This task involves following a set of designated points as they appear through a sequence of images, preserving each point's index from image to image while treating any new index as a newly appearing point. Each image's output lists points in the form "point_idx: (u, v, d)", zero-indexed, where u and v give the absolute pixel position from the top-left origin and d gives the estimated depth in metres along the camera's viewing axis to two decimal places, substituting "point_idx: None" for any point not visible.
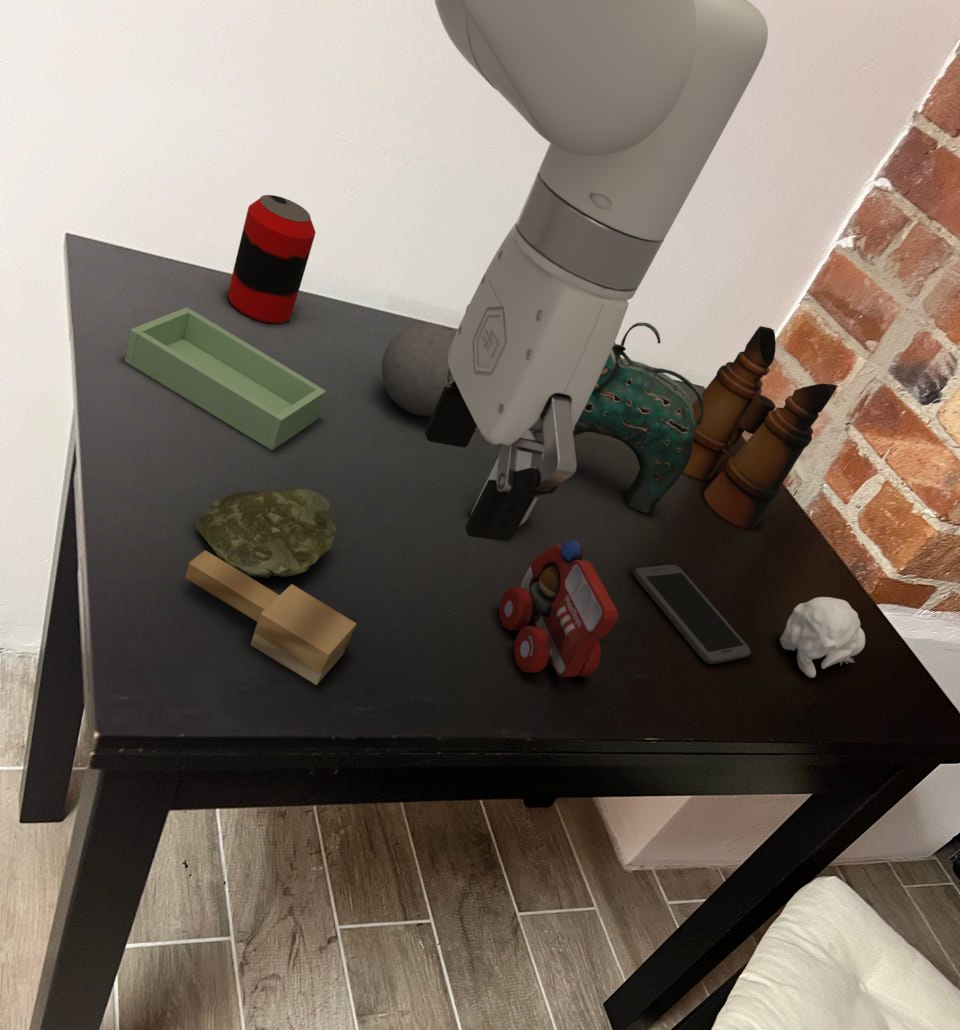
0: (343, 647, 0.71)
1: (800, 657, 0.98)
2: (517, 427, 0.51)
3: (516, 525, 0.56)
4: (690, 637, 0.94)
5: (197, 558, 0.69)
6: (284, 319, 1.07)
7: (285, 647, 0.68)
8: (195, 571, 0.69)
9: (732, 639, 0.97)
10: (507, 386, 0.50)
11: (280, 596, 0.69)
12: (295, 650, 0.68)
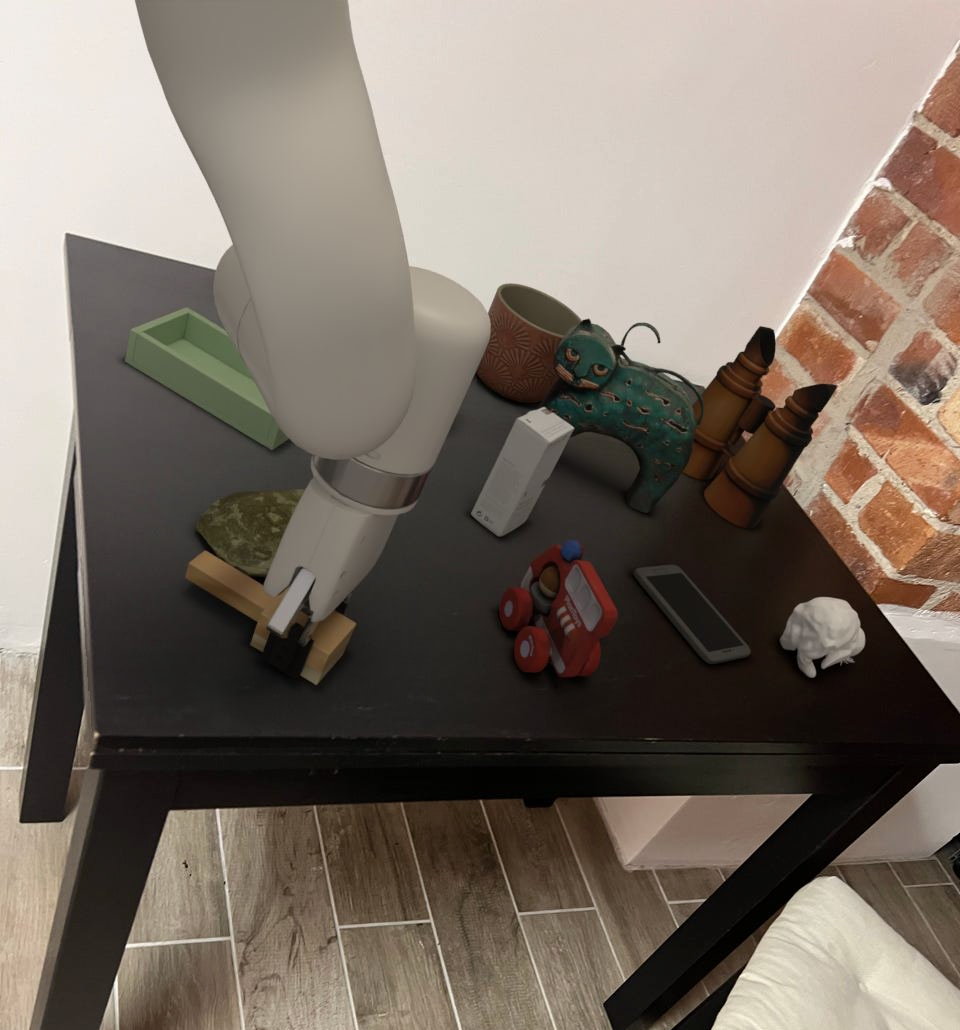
0: (343, 647, 0.71)
1: (800, 657, 0.98)
2: (275, 584, 0.61)
3: (299, 667, 0.68)
4: (690, 637, 0.94)
5: (197, 558, 0.69)
6: None
7: None
8: (195, 571, 0.69)
9: (732, 639, 0.97)
10: None
11: (280, 596, 0.69)
12: None
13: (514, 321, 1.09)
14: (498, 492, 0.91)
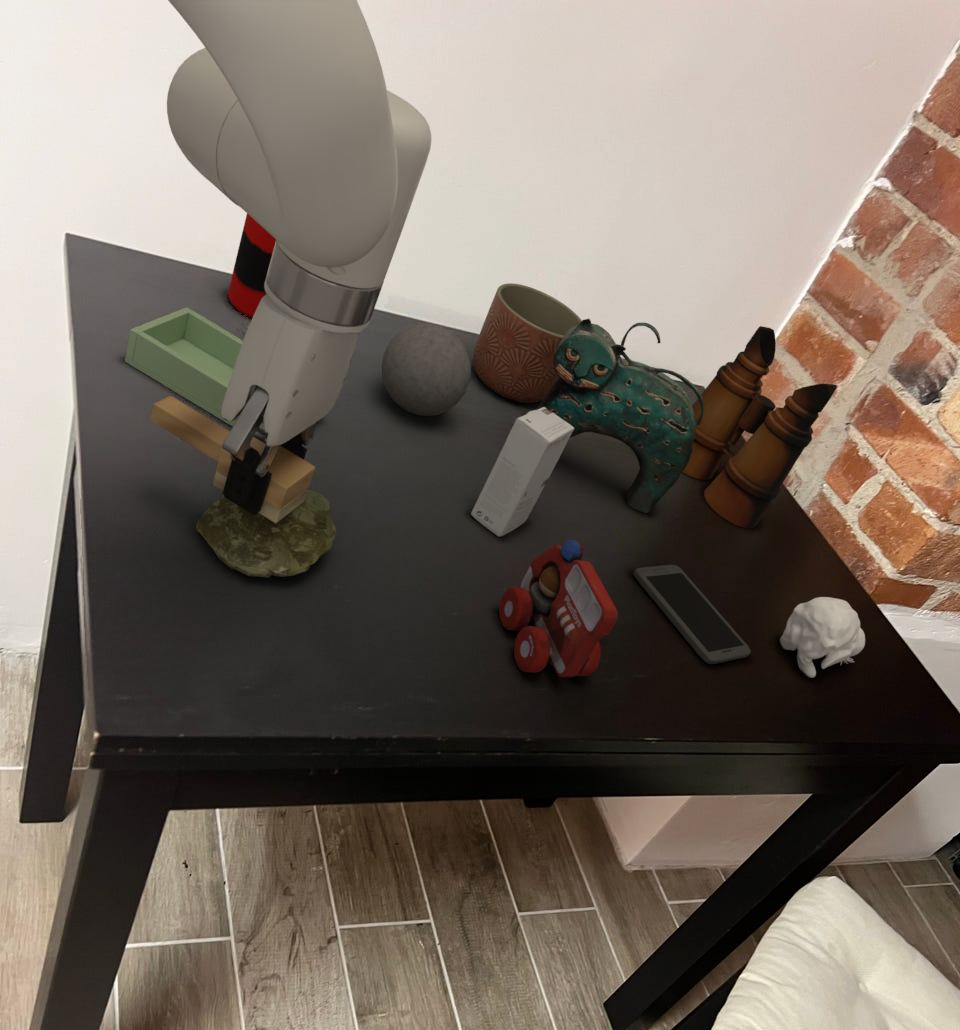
0: (303, 490, 0.74)
1: (800, 657, 0.98)
2: (231, 406, 0.64)
3: (258, 502, 0.71)
4: (690, 637, 0.94)
5: (162, 401, 0.72)
6: None
7: None
8: (160, 413, 0.72)
9: (732, 639, 0.97)
10: None
11: None
12: None
13: (514, 321, 1.09)
14: (498, 492, 0.91)
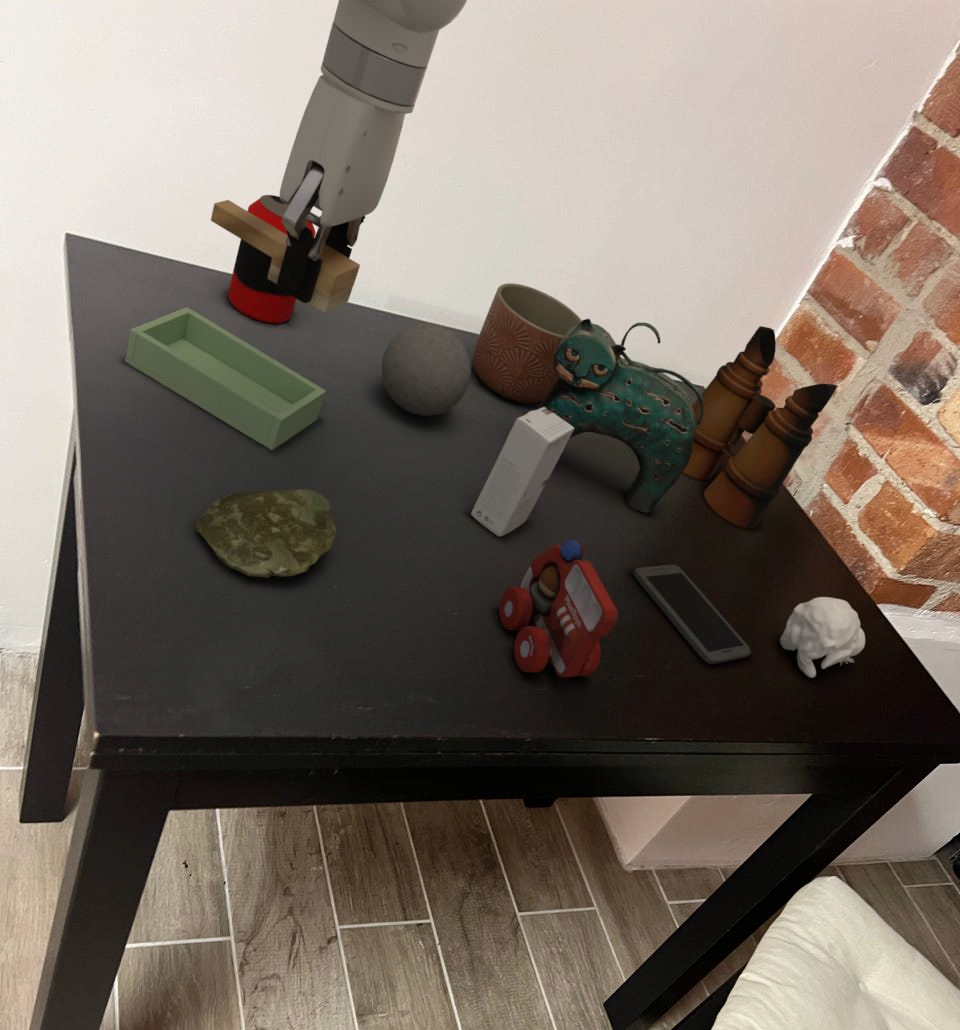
0: (348, 287, 0.81)
1: (800, 657, 0.98)
2: (289, 184, 0.72)
3: (309, 289, 0.78)
4: (690, 637, 0.94)
5: (221, 202, 0.80)
6: (284, 319, 1.07)
7: None
8: (220, 212, 0.79)
9: (732, 639, 0.97)
10: None
11: None
12: None
13: (514, 321, 1.09)
14: (498, 492, 0.91)
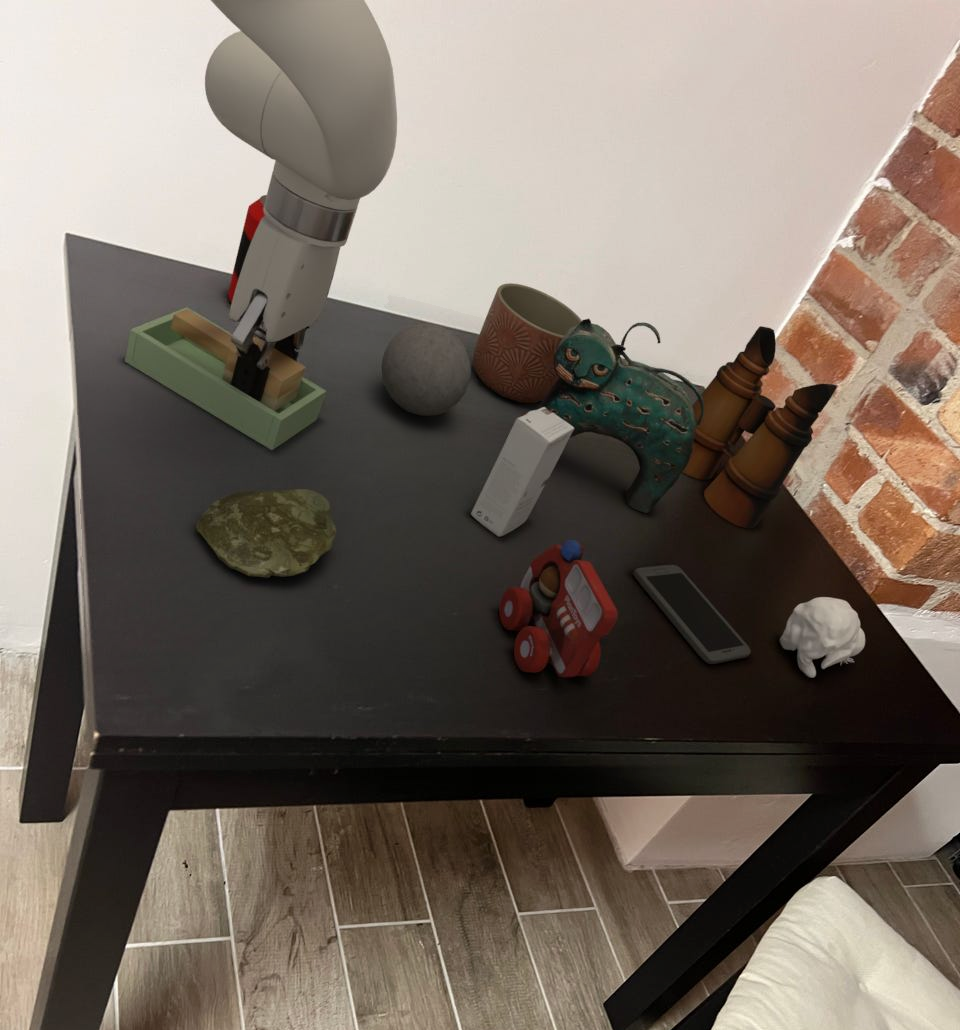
0: (295, 387, 0.90)
1: (800, 657, 0.98)
2: (237, 308, 0.81)
3: (259, 392, 0.87)
4: (690, 637, 0.94)
5: (180, 312, 0.89)
6: None
7: None
8: (179, 322, 0.88)
9: (732, 639, 0.97)
10: None
11: None
12: None
13: (514, 321, 1.09)
14: (498, 492, 0.91)
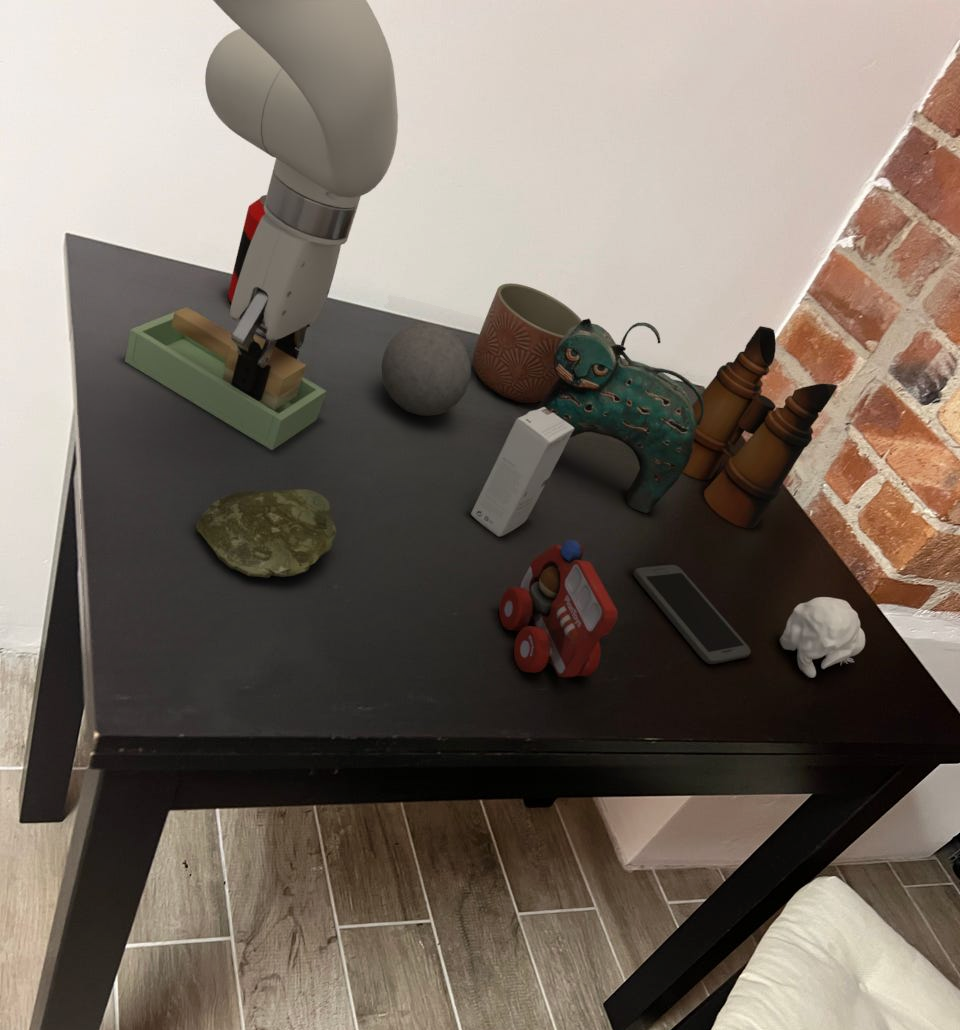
0: (296, 385, 0.90)
1: (800, 657, 0.98)
2: (238, 306, 0.81)
3: (259, 391, 0.87)
4: (690, 637, 0.94)
5: (181, 311, 0.89)
6: None
7: None
8: (180, 320, 0.88)
9: (732, 639, 0.97)
10: None
11: None
12: None
13: (514, 321, 1.09)
14: (498, 492, 0.91)
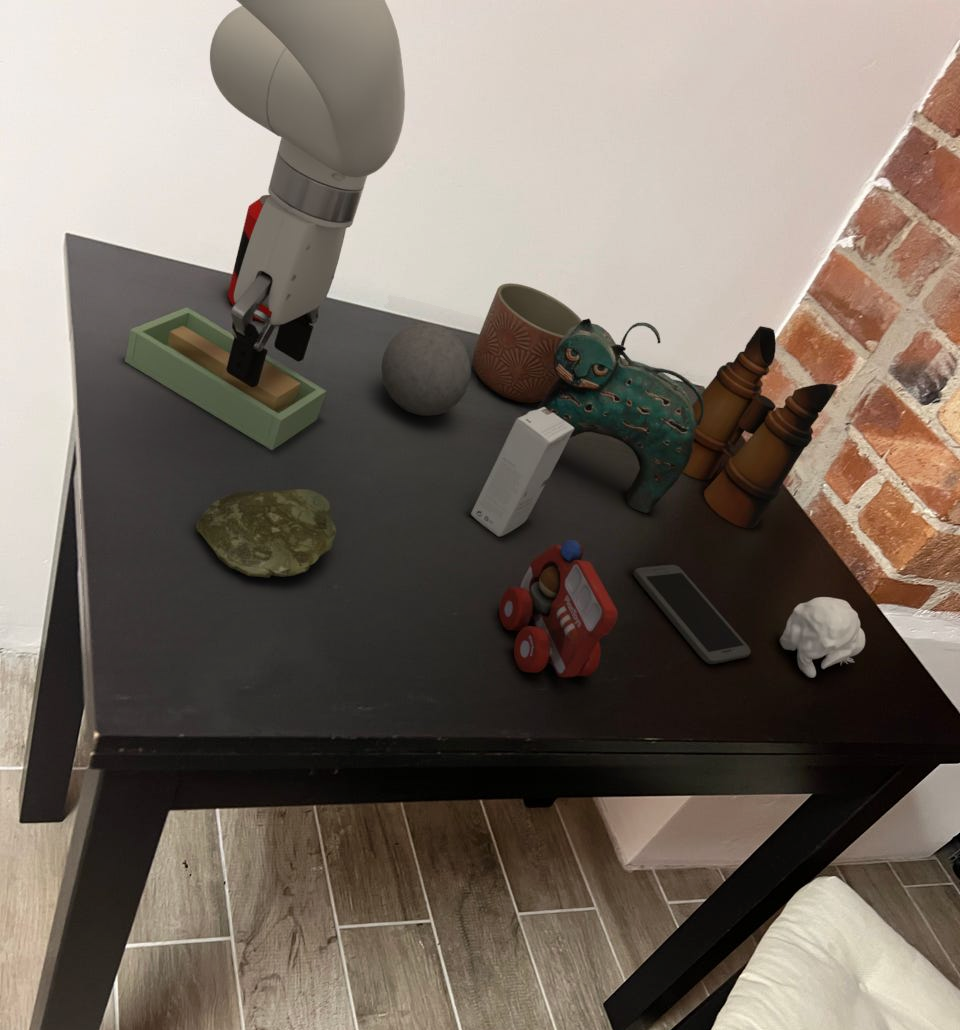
0: (290, 402, 0.91)
1: (800, 657, 0.98)
2: (242, 290, 0.80)
3: (256, 375, 0.84)
4: (690, 637, 0.94)
5: (176, 329, 0.90)
6: None
7: None
8: (175, 338, 0.89)
9: (732, 639, 0.97)
10: None
11: None
12: (251, 396, 0.88)
13: (514, 321, 1.09)
14: (498, 492, 0.91)
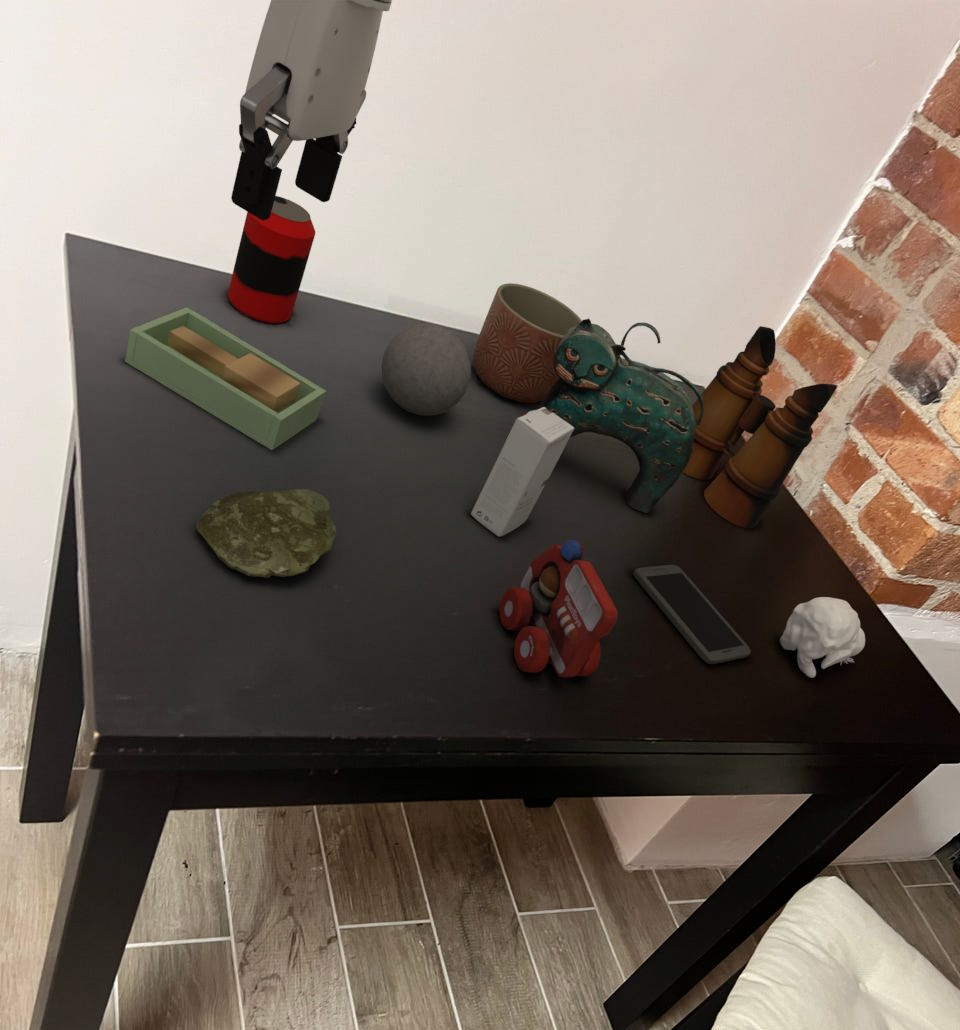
0: (290, 402, 0.91)
1: (800, 657, 0.98)
2: None
3: (267, 204, 0.69)
4: (690, 637, 0.94)
5: (176, 329, 0.90)
6: (284, 319, 1.07)
7: None
8: (175, 338, 0.89)
9: (732, 639, 0.97)
10: None
11: (240, 358, 0.90)
12: (251, 396, 0.88)
13: (514, 321, 1.09)
14: (498, 492, 0.91)
